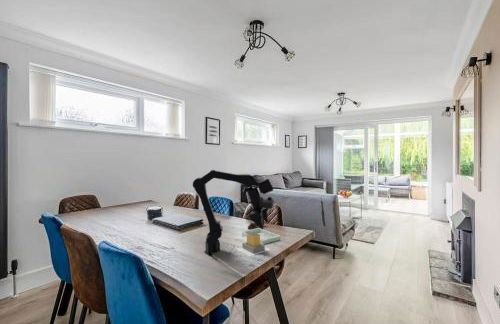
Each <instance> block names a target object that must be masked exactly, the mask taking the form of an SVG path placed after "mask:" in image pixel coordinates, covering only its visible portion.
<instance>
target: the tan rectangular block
mask: <svg viewBox="0 0 500 324" xmlns="http://www.w3.org/2000/svg"><path fill="white" fill-rule="evenodd" d="M260 239H261V233H255V232H250V233H247V237H246V242H247V245H249V246H251V247H253V248H254V247H258V246H260V244H261V243H260Z"/></svg>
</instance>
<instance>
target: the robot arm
mask: <svg viewBox="0 0 500 324" xmlns="http://www.w3.org/2000/svg"><path fill="white" fill-rule="evenodd" d="M212 179H218V180H224V181H229V182H236V183H238V184H240V185H243V186H244V188H243V190H242V192H243V193H247V196H248V199H249V201H248V202H249V204H250V205H251V206H252V209H251V212H250V214H249V215H248V219H249V221H252V223H256V224H257V225H258V228H261V229H263V230H265V229H264V225H263V223H262V219H263V220H264V222H265V223H268V222H269V218H268V210H272V209H273V208H274V206H275V205H274V204H275V201H274V199H273V197H272V196H268V198H266V199H265V198H263V196H261V194H262V195H265V194H269V193H270V192H274V187H273V185H272V183H271V182H270V179H269V178H266V179H264V180H262V181H259V180H256V179H255V177H254V176H253V175H252V174H247V173H245V174H238V173H237V174H235V173H232V172H231V173H230V172H225V171H220V170H215V169H211V170H210V171H209V172H208V173H206V174H205V175H203V176H201V177H196V178H195V179H194V180H193V181H192V187H193V189H194V191H195V192H196V194H197V195H198V197H199V199H200V202H201V205H202V209H203V210H204V214H205V216H206V219H207V221H208V222H207V223H208V228H209V229H208V230H209V232H208V233H207V234H206V238H205V250H204V251H203V252H204V253H205V254H206V255H208V256H213V255H214V254H215V253H217V252H218V251H220V250H221V243H220V240H219V239H220V238H221V237H222V236H223V235H222V233H223V226H222V224H221V220H217V219H216V216H215V213H214V211H213V207H212V204H211V201H210V200H209V196H208V192H207V185H206V184H208V183H209V182H210V181H212ZM245 186H246V187H245ZM213 253H214V254H213Z"/></svg>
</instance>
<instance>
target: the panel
mask: <svg viewBox="0 0 500 324" xmlns="http://www.w3.org/2000/svg"><path fill="white" fill-rule="evenodd" d="M236 250H237V251H239V252H241V253H243V254H244V255H246V256H248V257H252V256H255V255H257V254H262V253H264V252H267V251H271V250H272V249H270V248H268V247H266V244H261V243H260V246H258V247H254V248H253V247H251V246H249V245H247V241H246V242H243V243H242V246H241V247H238V248H236Z"/></svg>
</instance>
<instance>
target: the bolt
mask: <svg viewBox="0 0 500 324" xmlns="http://www.w3.org/2000/svg"><path fill="white" fill-rule="evenodd" d="M262 223H263V226H264V225H265V220H264V219H263V218H262ZM256 228H259V226H258V225H257V224H256V223H254V222H250V224H249V225H248V226H247V230H252V229H256Z"/></svg>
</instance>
